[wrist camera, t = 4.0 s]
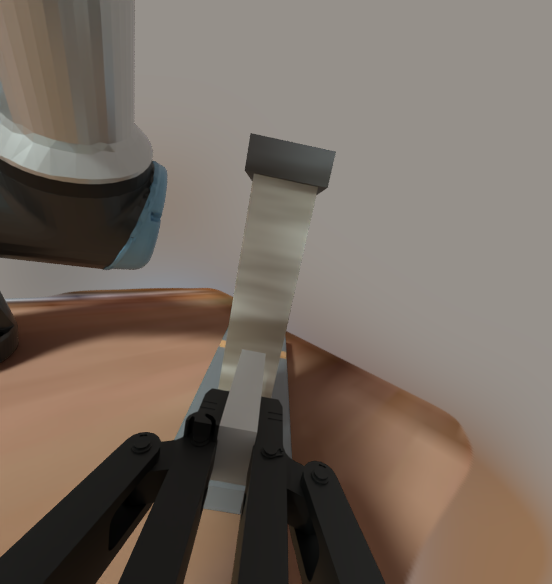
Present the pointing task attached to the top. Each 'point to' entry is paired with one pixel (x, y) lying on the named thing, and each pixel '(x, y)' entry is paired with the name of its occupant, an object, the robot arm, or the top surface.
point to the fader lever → (272, 249)
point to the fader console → (218, 493)
